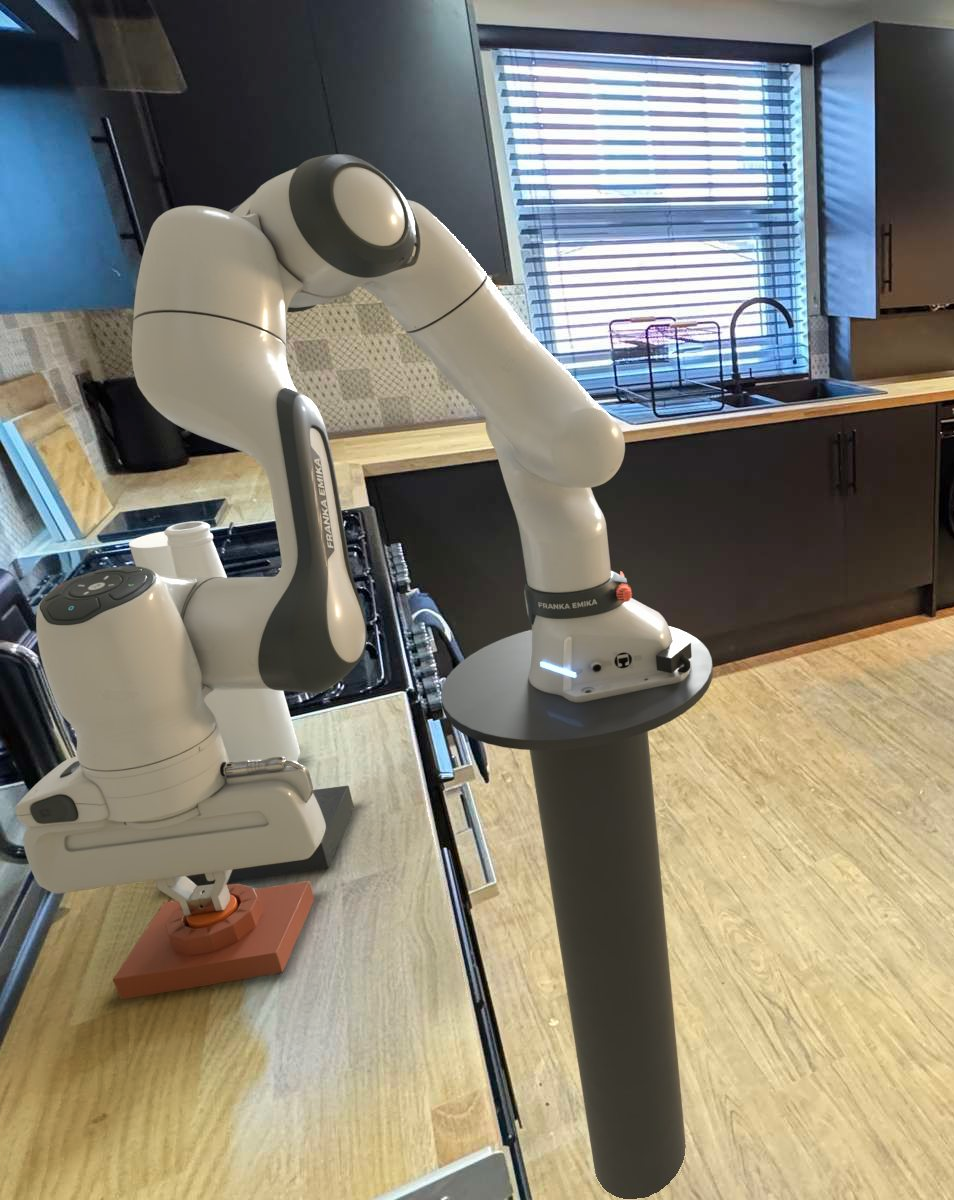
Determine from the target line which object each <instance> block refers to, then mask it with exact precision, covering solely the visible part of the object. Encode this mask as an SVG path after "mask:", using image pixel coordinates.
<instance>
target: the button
mask: <svg viewBox="0 0 954 1200" xmlns="http://www.w3.org/2000/svg"><path fill="white" fill-rule="evenodd" d="M238 907H239V906H238V903H237V900H236V898H235V897H234V896H232V895H230V901H229V903H228V905H227V907H226V908H225V910H222V911H214V912H206V913H201V914H195V915H188V916H187V921H188V924H189V927H190V928H193V929H197V928H204V927H210V926H212V925H214V924H217V923H219V922H221V921H224V920H225V919H227V918H228V917H229V916H230V915H232V914H233V913H234V912H236V911H237V909H238Z"/></svg>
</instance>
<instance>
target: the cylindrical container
mask: <svg viewBox="0 0 954 1200" xmlns="http://www.w3.org/2000/svg"><path fill="white" fill-rule="evenodd" d="M164 531H165V530H164ZM164 531H157V532H154V533H149V534H145V535H142V536H139V537H136V538H134V539H132V540H130V541H129V542H128V546H129V549H130V553H131V555H132V558H133V562H134V564H135V565H134V566H138V567H143V568H147V569H150V570H152V571H154V572H155V573H156V574H157V575H160V576H165V577H174V578H177V576H176V571H175V566H174V561H173V557H172V552H171V547H170V546H168V544H167V541H168V537H167V536H166V535H165V534H164Z"/></svg>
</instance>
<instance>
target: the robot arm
mask: <svg viewBox="0 0 954 1200" xmlns="http://www.w3.org/2000/svg"><path fill="white" fill-rule="evenodd" d="M357 288H361V289H363V290H366V291H367V292H369V294H372V295H373V296H375V297H376V298H377V299H379V300H380V301H381V302H382V304H383V305H384V306H385V307H386V309H387V310H388V312H389V313H390V314H391V315H392V317H393V318H394V319H395V320H396V322H397V323H398V324H399V325H400V327H401V328H402V329H403V330H404V331H405V333H406V334H407V335H408V336H409V338H410V339H411V340H412V341H413V342H414V343H415V344H416V345H417V347H418V348H419V349H420V350H421V351H422V352H423V354H424V355H425V356H426V357H427V359H428V360H429V361H430V362H431V363H432V364H433V366H434V367H435V368H436V369H437V370H438V371H439V373H440V374H441V375H442V376H443V377H444V378H445V380H446V381H447V382H448V383H449V384H450V385H451V386H452V387H453V389H454V390H455V391H456V392H458V393H459V395H461V396H462V397H463V398H464V399H466V400H467V401H468V402H469V404H471V405H472V406H473V407H474V408H475V409H476V410H477V411H478V412H479V413H480V414H481V415H483V417H484V418H485V430H486V435H487V437H488V439H489V441H490V443H491V445H492V447H493V449H494V451H495V454H496V457H497V460H498V463H499V467H500V468H499V469H500V471H501V474H502V477H503V482H504V485H505V487H506V491H507V494H508V498H509V500H510V502H511V506H512V508H513V511H514V515H515V518H516V522H517V527H518V531H519V536H520V543H521V548H522V555H523V557H522V558H523V561H524V570H525V575H526V580H525V583H524V590H523V591H524V592H523V593H524V599H525V607H526V615H527V617H528V620H529V623H530V624H531V630H532V655H531V664H530V671H529V675H528V679H529V682H530V683H531V685H532V686H534V687H535V688H537V689H539V690H541V691H543V692H547V693H551V694H556V695H560V696H563V697H564V698H566V699H568V700H569V701H572V702H575V703H581V702H586V701H591V700H596V699H601V698H606V697H610V696H615V695H620V694H625V693H630V692H635V691H640V690H644V689H649V688H654V687H659V686H664V685H669V684H674V683H678V682H681V681H683V680H684V679H685V678H686V677H687V675H688V674H689V672H690V668H691V661H690V658H691V657H692V653H691V643H690V642H685V641H680V640H678V639H676V638H674V637H672V634H671V631H670V629H669V626H670V625H669V624H668V621H666V619H665V617H664V616H663V615H662V614H661V613H660V612H659V611H657V610H655V609H653V608H651V607H649V606H647V605H645V604H643V603H642V602H640V601H639V600H636V599H635V598H632V597H633V592H632V587H631V586H630V585H629V584H628V580H627V577H625V574H624V573H623V571H621V570H620V573H617V572H616V571H613V570H612V568H611V567H612V566H611V559H610V548H609V540H608V529H607V522H606V517H605V516H604V513H603V511H602V509H601V508H600V506H599V504H598V502H597V500H596V498H595V495H594V491H593V490H592V488H596V487H599V486H601V485H603V484H605V483H607V482H608V481H610V480H611V479H612V478H613V477H614V476H615V475H616V473H617V472H618V471H619V470H620V468H621V466H622V464H623V461H624V457H625V452H626V441H625V436H624V433H623V430H622V428H621V426H620V424H619V423H618V421H617V420H616V419H615V418H614V417H613V416H612V415H611V414H610V413H608V412H607V411H606V410H605V409H604V408H603V407H602V406H601V405H600V404H598V403H597V402H596V400H595V399H594V398H592V396H591V395H590V394H589V393H588V392H587V391H586V389H585V388H584V387H583V386H582V385H581V384H580V383H579V382H578V381H577V380H576V378H574V376H572V374H571V373H570V372H569V371H568V370H567V369H566V368H565V367H564V366H563V365H562V363H560V362H559V361H558V360H557V359H556V358H555V357H554V356H553V355H552V354H551V353H550V352H549V351H548V350H547V349H546V348H545V347H544V346H543V344H542V343H541V342H540V341H539V340H538V339H537V338H536V337H535V336H534V334H533V333H532V332H531V331H530V329H528V327H527V326H526V325H525V323H524V322H523V321H522V319H521V318H520V317H519V316H518V315H517V312H515V311H514V309H513V308H512V307H511V305H510V304H509V303H508V301H507V300H506V298H505V297H504V296H503V295H502V293H501V292H500V290H499V289H498V287H496V285H495V283H494V282H493V281H492V280H491V278H490V277H489V276H488V274H487V273H486V271H484V269H483V267H481V265H480V264H479V263H478V261H477V260H476V259H475V258H474V257H473V256H472V254H471V253H470V252H469V251H468V249H467V248H466V247H465V246H464V245H463V244H462V243H461V242H460V241H459V240H458V239H457V237H456V236H455V235H454V234H453V233H452V232H451V231H450V230H449V229H448V228H447V227H446V226H445V225H444V223H442V222H441V221H440V220H439V219H438V217H436V216H435V215H434V214H433V213H432V212H431V211H430V210H429V209H428V208H426V207H425V206H424V205H422V204H420V203H419V202H416V201H414V200H410V199H406V196H404V194H403V193H402V192H401V190H400V189H399V188H398V187H397V186H396V184H395V183H394V182H393V181H392V180H390V178H389V177H388V176H387V175H385V174H384V173H383V172H382V171H381V170H380V169H378V168H377V167H375V166H374V165H372V164H371V163H369V162H368V161H366V160H363V159H362V158H359V157H357V156H355V155H351V154H344V153H333V154H323V155H320V156H316V157H312V158H310V159H307V160H305V161H303V162H302V163H301V164H300V165H298V166H297V167H295V168H292V169H289V170H287V171H285V172H283V173H281V174H279V175H277V176H274V177H272V178H271V179H269V180H267V181H266V182H264V183H263V184H261V185H260V186H259V187H258V188H257V189H256V191H255V192H254V193H253V194H251V195H250V196H249V197H247V199H245V200H244V201H243V202H242V203H240V204H238V205H236V206H234V207H233V208H230V210H228V211H227V210H224V209H221V208H218V207H217V208H216V207H212V206H206V205H183V206H178V207H174V208H171V209H169V210H166V211H164V212H163V213H161V215H159V216H158V217H157V218H156V219H155V221H154V222H153V223H152V226H151V227H150V230H149V233H148V237H147V239H146V243H145V245H144V249H143V253H142V257H141V260H140V266H139V270H138V276H137V280H136V289H135V296H134V305H133V321H132V337H131V361H132V362H131V363H132V370H133V374H134V378H135V381H136V385H137V387H138V389H139V390H140V392H141V393H142V396H144V397H145V399H146V400H147V402H148V403H149V404H150V405H151V406H152V407H153V408H154V409H155V410H156V411H157V412H158V413H160V415H162V416H163V417H164V418H166V419H167V420H168V421H169V422H171V423H173V424H174V425H175V426H177V427H180V428H181V429H184V430H185V431H187V432H190V433H193V434H195V435H197V436H199V437H202V438H205V439H207V440H209V441H213V442H215V443H217V444H221V445H224V446H227V447H229V448H233V449H235V450H237V451H240V452H243V453H245V454H247V455H248V456H249V457H251V458H253V460H255V461H256V462H257V463H258V465H259V466H260V467H261V468H262V470H263V471H264V473H265V474H266V477H267V479H268V484H269V488H270V493H271V501H272V507H273V514H274V519H275V526H276V532H277V539H278V545H279V552H280V560H281V567H280V570H279V572H278V573H277V574H276V575H275V576H242V577H241V576H240V577H238V576H237V577H227V578H224V577H182V578H174V577H165V576H160V575H157V574H156V573H155V572H154V571H152V570H150V569H147V568H143V567H138V566H136V565H123V566H114V567H106V568H101V569H96V570H95V571H91V572H88V573H85V574H81V575H77V576H75V577H72V578H70V579H68V580H66V581H64V582H62V583H61V584H59V585H58V586H56V587H55V588H54V589H52V590H51V591H50V592H48V593H46V595H44V597H42V598H41V600H40V602H39V604H38V606H37V610H36V617H35V618H36V619H35V621H36V623H35V624H36V625H35V626H36V627H35V629H36V640H37V645H38V651H39V655H40V659H41V664H42V667H43V671H44V673H45V676H46V677H45V678H46V680H47V683H48V686H49V688H50V691H51V694H52V696H53V699H54V702H55V704H56V707H57V709H58V711H59V713H60V714H61V716H62V717H63V718H64V719H65V720H66V722H67V723H68V724H70V726H71V728H72V729H73V731H74V733H75V737H76V755H75V756H73V757H70V758H68V759H66V760H64V761H62V762H61V763H59V764H58V765H57V766H56V767H54V768H53V769H52V770H51V771H49V772H48V773H47V774H46V775H44V776H43V777H42V778H41V779H40V780H39V781H38V782H37V783H35V784H34V786H33V787H32V788H30V790H28V792H27V793H26V794H24V796H23V797H22V798H21V799H20V800H19V802H18V803H17V804H16V805H15V807H14V812H15V816H16V818H17V819H18V821H19V822H20V823H21V824H22V825H23V826H25V827H27V828H26V829H25V830H24V833H23V835H22V844H23V848H24V853H25V856H26V859H27V863H28V864H29V868H30V871H31V873H32V875H33V877H34V879H35V881H36V883H37V885H38V886H40V888H43V890H46V891H48V892H50V893H52V894H56V895H59V894H66V893H74V892H83V891H88V890H95V889H102V888H110V887H118V886H123V885H131V884H137V883H144V882H145V883H146V882H151V881H154V882H155V883H154V884H155V886H156V888H157V890H159V891H160V892H162V893H163V894H165V895H167V896H168V897H170V898H171V899H173V901H177V902H178V901H179V902H180V905H181V907H182V910H183V913H184V915H185V916H188V915H195V914H201V913H206V912H214V911H222V910H225V908H226V907H227V905H228V903H229V901H230V893H229V890H228V887H227V885H228V884H227V883H229V882H228V879H229V877H230V875H231V872H232V870H233V869H240V868H247V867H254V866H261V865H268V864H276V863H283V862H290V861H297V860H304V859H308V858H309V857H311V855H312V854H313V853H314V852H315V850H316V849H317V848H318V846H319V844H320V843H321V841H322V839H323V836H324V833H325V830H326V824H325V820H324V817H323V815H322V812H321V809H320V807H319V805H318V802H317V800H316V798H315V796H314V794H313V790H314V786H313V781H312V778H311V774H310V771H309V769H308V768H307V767H306V765H303V764H301V763H299V762H298V761H297V762H293V761H287V759H286V758H285V757H272V758H267V759H265V760H247V761H237V762H229V760H228V757H227V754H226V750H225V747H224V744H223V741H222V737H221V734H220V731H219V728H218V724H217V722H216V718H215V716H214V714H213V713H212V711H211V710H210V709H209V707H208V706H207V705H206V703H205V702H204V698H205V697H206V695H207V694H209V693H210V692H212V691H213V690H214V689H216V690H237V689H273V690H279V691H283V692H295V693H307V694H320V693H323V692H326V691H327V690H329V689H331V688H332V687H334V686H335V685H336V684H338V683H339V682H340V681H342V680H343V679H344V678H345V677H347V675H349V674H350V673H351V672H352V670H354V668H356V666H357V665H358V664H359V662H361V660H362V658H363V656H364V655H365V652H366V648H367V641H368V630H367V629H368V628H367V621H366V615H365V611H364V608H363V605H362V601H361V599H360V595H359V592H358V589H357V586H356V583H355V580H354V576H353V571H352V567H351V561H350V554H349V549H348V543H347V537H346V529H345V524H344V518H343V512H342V505H341V500H340V499H341V498H340V493H339V487H338V481H337V475H336V469H335V464H334V458H333V453H332V448H331V445H330V439H329V435H328V432H327V431H328V430H327V428H326V424H325V422H324V420H323V417H322V415H321V412H320V410H319V409H318V407H317V405H316V404H315V403H314V402H313V401H312V399H310V398H309V397H308V396H306V395H304V394H303V393H300V392H299V391H298V390H297V388H296V387H295V385H294V383H293V380H292V377H291V375H290V371H289V366H288V362H287V320H286V318H287V315H288V313H299V312H304V311H308V310H310V309H312V308H315V307H316V306H318V305H321V304H325V303H328V302H329V303H330V302H333V301H335V300H338V299H341V298H344V297H346V296H348V295H350V294H351V293H353V292H354V291H355V290H356V289H357ZM287 766H291V767H287ZM204 873H205V876H206V879H207V881H214V880H215V883H214V884H210V885H202V886H197V885H195V884H194V883H193V882H192V881H191V880H190V879H188V878H187V877H186V876H189V875H197V874H204Z"/></svg>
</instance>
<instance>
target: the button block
mask: <svg viewBox="0 0 954 1200" xmlns="http://www.w3.org/2000/svg"><path fill="white" fill-rule="evenodd" d="M227 887H228V890H229V893H230V895H232V896H234V897H235V898H236V900H237V903H238V906H239V907H238V909H237V911H236V912H234V913H233V914H232V915H230V916H229V917H228V918H227V919H225V920H224V921H221V922H219V923H217V924H214V925H212V926H210V927H204V928H197V929H193V928H190V927H189V924H188V921H187V916H185V915H184V913H183V910H182V907H181V905H180V902H179V901H178V902H177V901H176V900H171V901H165V902H163V904H161V907H160V908H159V909H158V911H157V912H156V914H155V915H154V917H153V918H152V919H151V921H150V923H149V924H148V925H147V927H146V928H145V930H144V932H143V933H142V935H141V936H140V938H139V939H138V941H137V942H136V944H135V945H134V946H133V948H132V950H131V951H130V952H129V954H128V956H127V957H126V959H125V960H124V962H123V963H122V964H121V966H120V967H119V968H118V970H117V972H116V974H115V975H114V976H113V978H112V981H113V984H114V986H115V988H116V991H117V993H118V995H119V998H120V1000H126V999H131V998H137V997H138V998H139V997H144V996H150V995H156V994H161V993H169V992H174V991H181V990H185V989H186V990H187V989H192V988H198V987H204V986H210V985H211V986H212V985H217V984H221V983H229V982H235V981H240V980H241V981H242V980H245V979H252V978H259V977H264V976H269V975H277V974H282V973H283V972H284V971H285V968H286V965H287V964H288V962H289V959H290V957H291V954H292V952H293V949H294V947H295V945H296V942H297V940H298V938H299V936H300V934H301V932H302V929H303V927H304V924H305V922H306V920H307V917H308V916H309V913H310V910H311V908H312V906H313V903H314V902H315V897H314V893H313V889H312V886H311V883H310V880H307V881H299V882H293V883H285V884H280V885H272V886H266V887H259V888H258V887H257V888H254V887H252V886H250V885H245V884H241V883H230V884H227Z"/></svg>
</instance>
